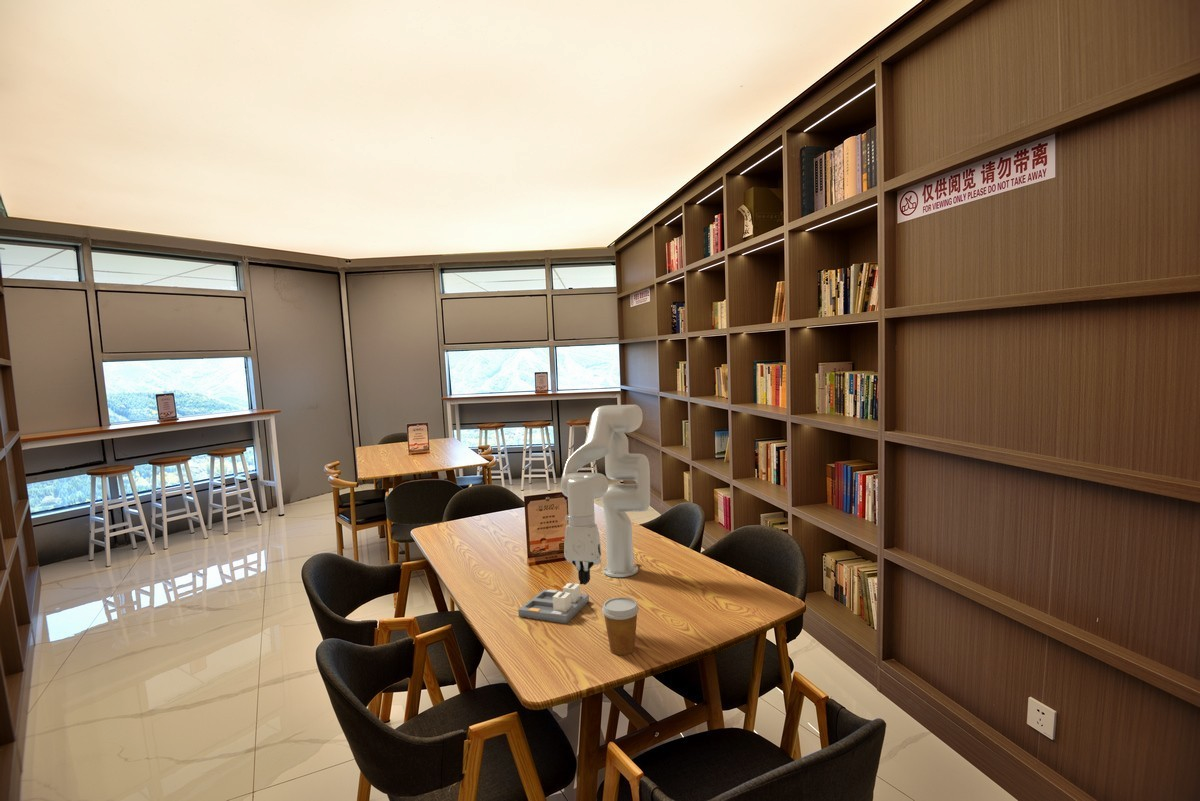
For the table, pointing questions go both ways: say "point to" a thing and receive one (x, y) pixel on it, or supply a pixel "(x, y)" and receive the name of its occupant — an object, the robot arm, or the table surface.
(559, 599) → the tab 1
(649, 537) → the table surface
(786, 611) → the table surface
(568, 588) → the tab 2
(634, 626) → the disposable coffee cup
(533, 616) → the switch bank
